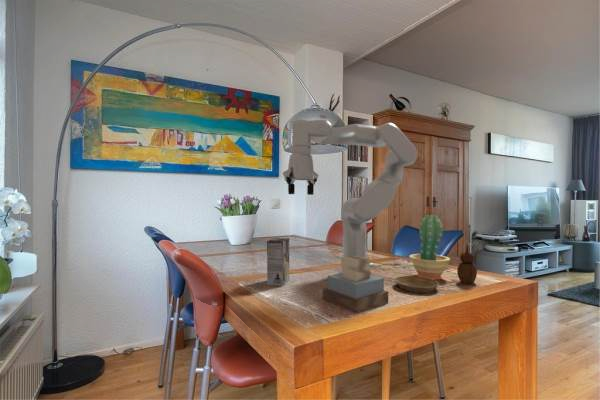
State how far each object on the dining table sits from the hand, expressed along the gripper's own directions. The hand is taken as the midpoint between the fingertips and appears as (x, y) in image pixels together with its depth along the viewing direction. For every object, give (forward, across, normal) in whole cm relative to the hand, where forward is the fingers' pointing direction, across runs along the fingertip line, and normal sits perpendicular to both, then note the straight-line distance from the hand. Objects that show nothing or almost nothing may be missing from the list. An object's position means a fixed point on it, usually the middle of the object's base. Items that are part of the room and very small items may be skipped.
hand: (301, 194), depth 123 cm
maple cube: (+26, +5, +34) cm, 43 cm away
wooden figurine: (+33, -45, +45) cm, 71 cm away
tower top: (+30, +5, +33) cm, 45 cm away
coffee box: (+33, +12, +1) cm, 35 cm away
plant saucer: (+33, -23, +37) cm, 55 cm away
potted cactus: (+33, -41, +32) cm, 62 cm away
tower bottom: (+34, +5, +33) cm, 47 cm away
